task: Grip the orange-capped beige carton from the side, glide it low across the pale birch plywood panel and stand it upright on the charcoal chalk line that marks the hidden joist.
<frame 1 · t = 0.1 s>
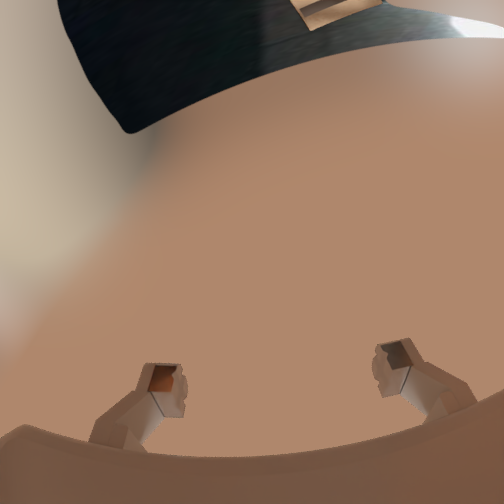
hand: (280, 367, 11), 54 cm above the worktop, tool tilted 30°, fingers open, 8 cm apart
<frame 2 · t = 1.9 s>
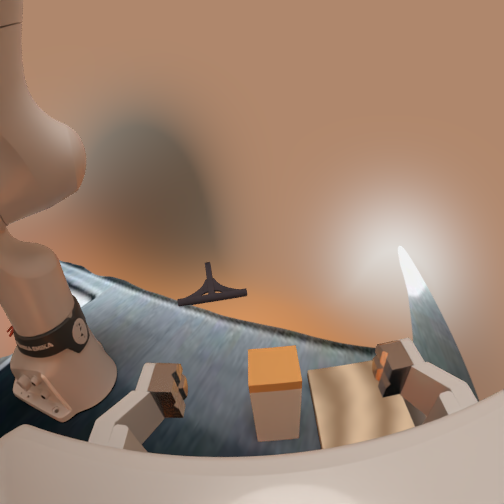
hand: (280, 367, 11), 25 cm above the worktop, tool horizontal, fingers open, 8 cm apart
bracket: (211, 285, 67), on the worktop
orange-capped beige carton: (277, 424, 33), on the worktop
subfloor panel: (377, 408, 33), on the worktop
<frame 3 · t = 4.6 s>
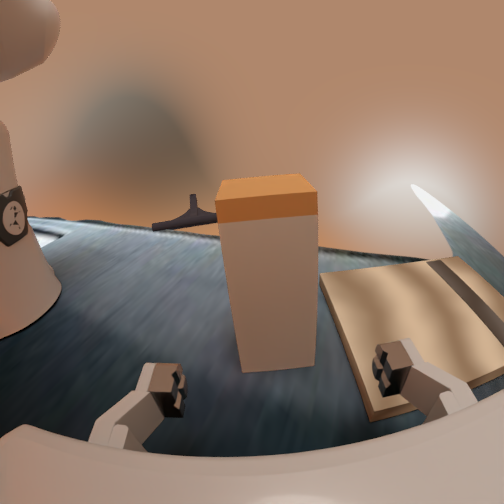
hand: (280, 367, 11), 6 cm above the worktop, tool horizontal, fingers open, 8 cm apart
bracket: (195, 216, 56), on the worktop
orange-capped beige carton: (275, 345, 22), on the worktop
subfloor panel: (431, 320, 21), on the worktop
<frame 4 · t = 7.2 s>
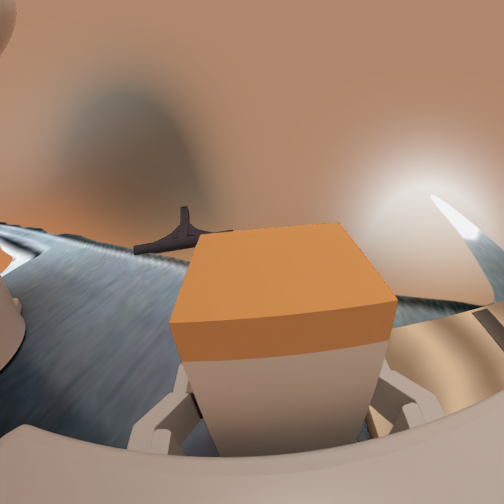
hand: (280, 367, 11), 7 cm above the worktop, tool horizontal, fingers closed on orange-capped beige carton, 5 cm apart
bracket: (186, 233, 48), on the worktop
orange-capped beige carton: (284, 453, 13), on the worktop, touching gripper
subfloor panel: (481, 399, 13), on the worktop
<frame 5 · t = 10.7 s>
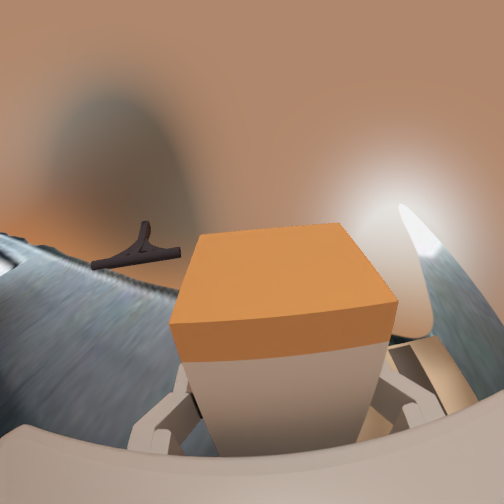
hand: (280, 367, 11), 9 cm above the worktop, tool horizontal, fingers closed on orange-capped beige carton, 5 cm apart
bracket: (143, 248, 49), on the worktop
orange-capped beige carton: (284, 453, 13), point 2 cm above the worktop, touching gripper
subfloor panel: (369, 450, 14), on the worktop
when the fingers open (8 cm above the worktop, at t = 14.1 s): orange-capped beige carton stays where it is, resting on subfloor panel.
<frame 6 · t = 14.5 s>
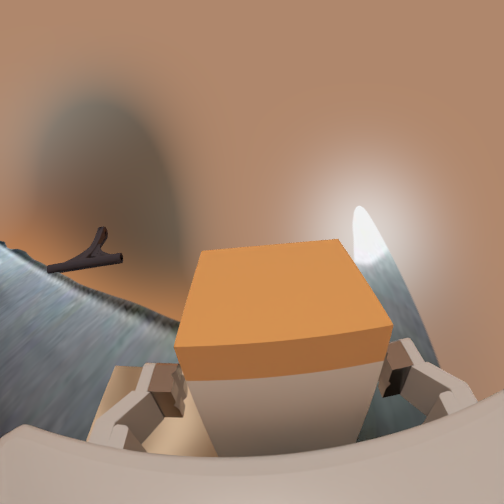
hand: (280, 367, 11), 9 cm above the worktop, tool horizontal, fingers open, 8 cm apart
bracket: (96, 253, 49), on the worktop
orange-capped beige carton: (283, 458, 14), point 1 cm above the worktop, touching subfloor panel
subfloor panel: (210, 467, 14), on the worktop
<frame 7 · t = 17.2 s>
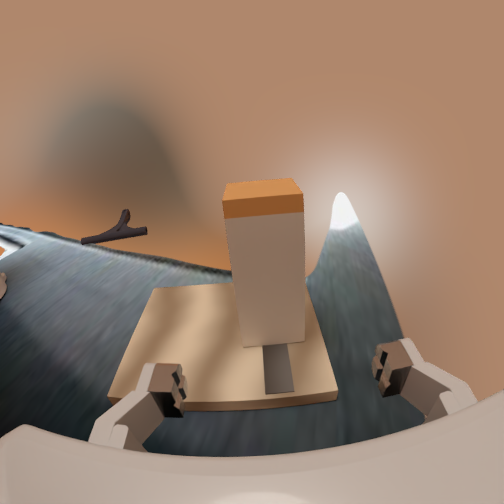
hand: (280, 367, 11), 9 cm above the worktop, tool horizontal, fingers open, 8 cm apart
bracket: (122, 229, 61), on the worktop
orange-capped beige carton: (271, 325, 25), point 1 cm above the worktop, touching subfloor panel
subfloor panel: (223, 339, 26), on the worktop
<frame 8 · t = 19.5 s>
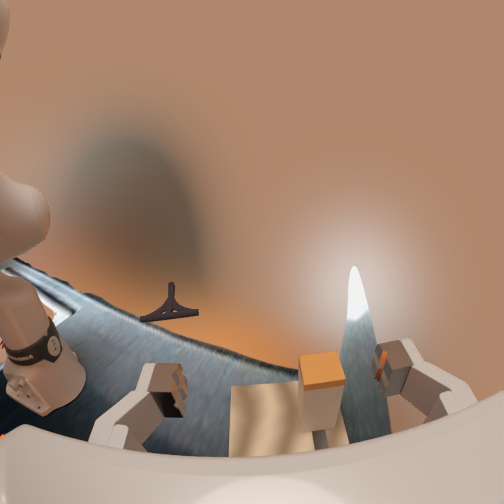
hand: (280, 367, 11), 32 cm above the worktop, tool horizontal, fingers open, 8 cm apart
bracket: (172, 304, 74), on the worktop
orange-capped beige carton: (315, 417, 39), point 1 cm above the worktop, touching subfloor panel
subfloor panel: (286, 424, 40), on the worktop
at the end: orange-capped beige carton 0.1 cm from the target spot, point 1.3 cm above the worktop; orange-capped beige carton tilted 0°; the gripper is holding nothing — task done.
